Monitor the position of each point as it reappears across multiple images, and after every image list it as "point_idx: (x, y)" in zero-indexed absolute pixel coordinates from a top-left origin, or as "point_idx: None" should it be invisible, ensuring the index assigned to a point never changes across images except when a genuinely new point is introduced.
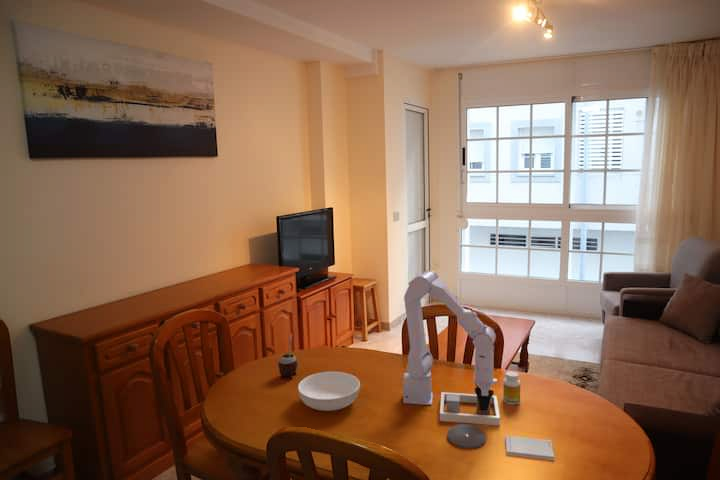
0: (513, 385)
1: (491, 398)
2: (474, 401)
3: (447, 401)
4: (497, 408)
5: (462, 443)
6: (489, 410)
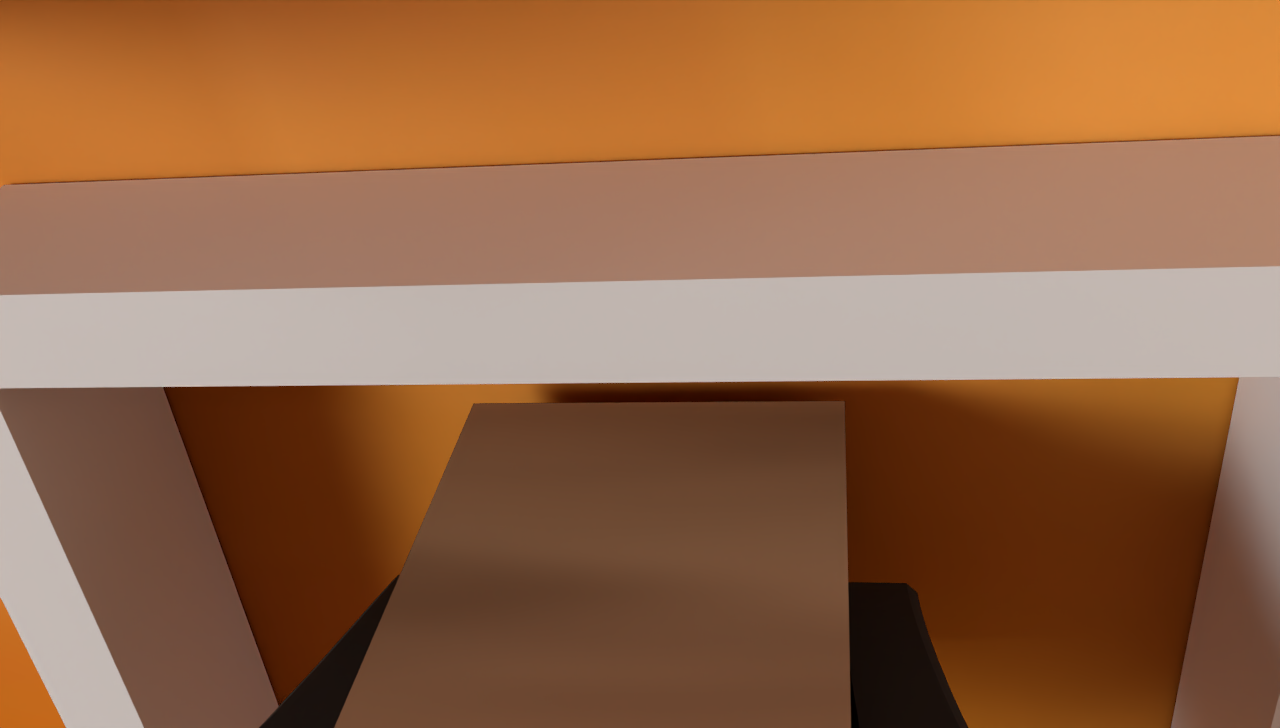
0: None
1: (45, 413)
2: (248, 683)
3: None
4: (770, 311)
5: None
6: (846, 504)
